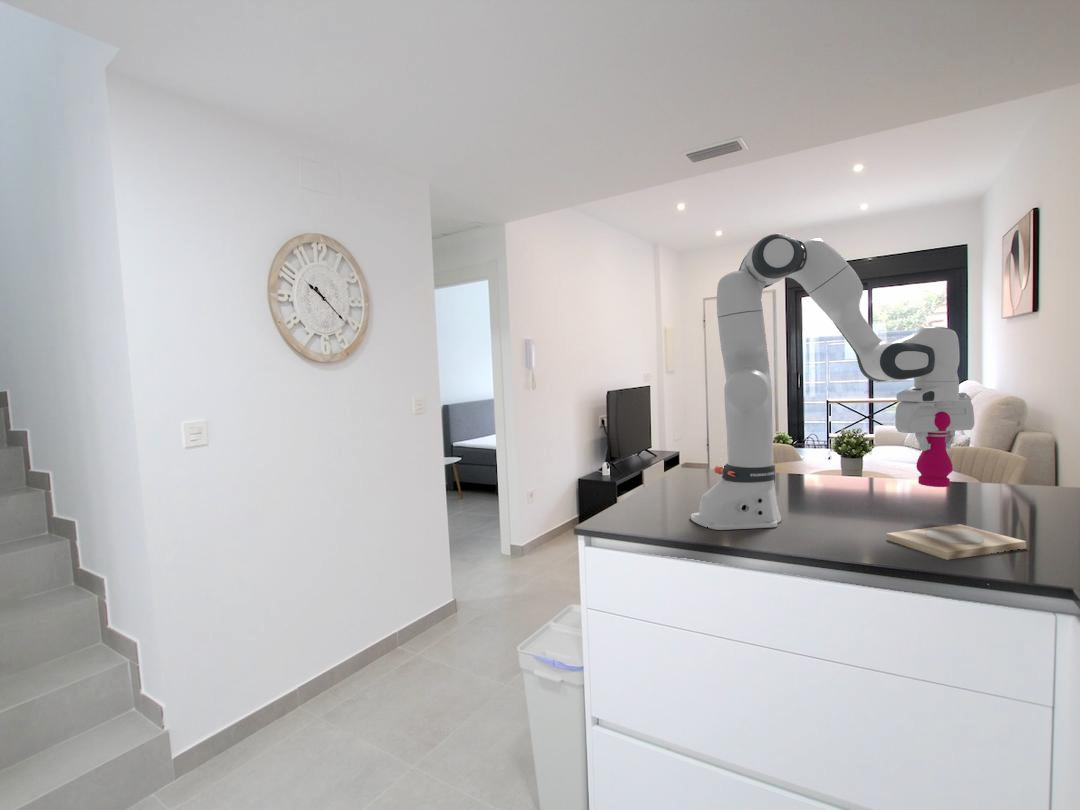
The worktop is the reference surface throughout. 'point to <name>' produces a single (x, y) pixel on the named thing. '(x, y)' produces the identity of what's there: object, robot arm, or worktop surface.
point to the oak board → (955, 541)
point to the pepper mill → (936, 456)
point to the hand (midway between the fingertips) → (934, 449)
